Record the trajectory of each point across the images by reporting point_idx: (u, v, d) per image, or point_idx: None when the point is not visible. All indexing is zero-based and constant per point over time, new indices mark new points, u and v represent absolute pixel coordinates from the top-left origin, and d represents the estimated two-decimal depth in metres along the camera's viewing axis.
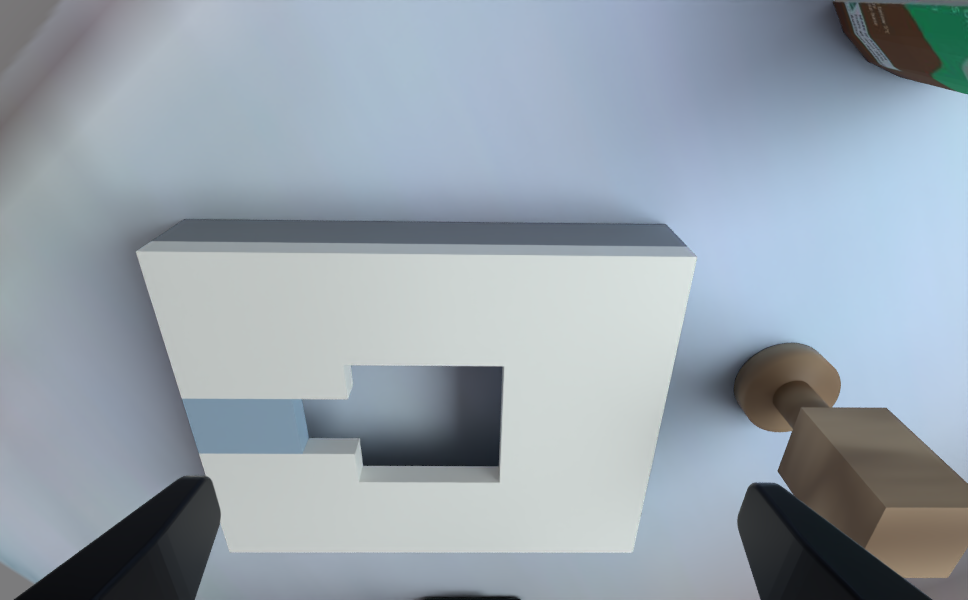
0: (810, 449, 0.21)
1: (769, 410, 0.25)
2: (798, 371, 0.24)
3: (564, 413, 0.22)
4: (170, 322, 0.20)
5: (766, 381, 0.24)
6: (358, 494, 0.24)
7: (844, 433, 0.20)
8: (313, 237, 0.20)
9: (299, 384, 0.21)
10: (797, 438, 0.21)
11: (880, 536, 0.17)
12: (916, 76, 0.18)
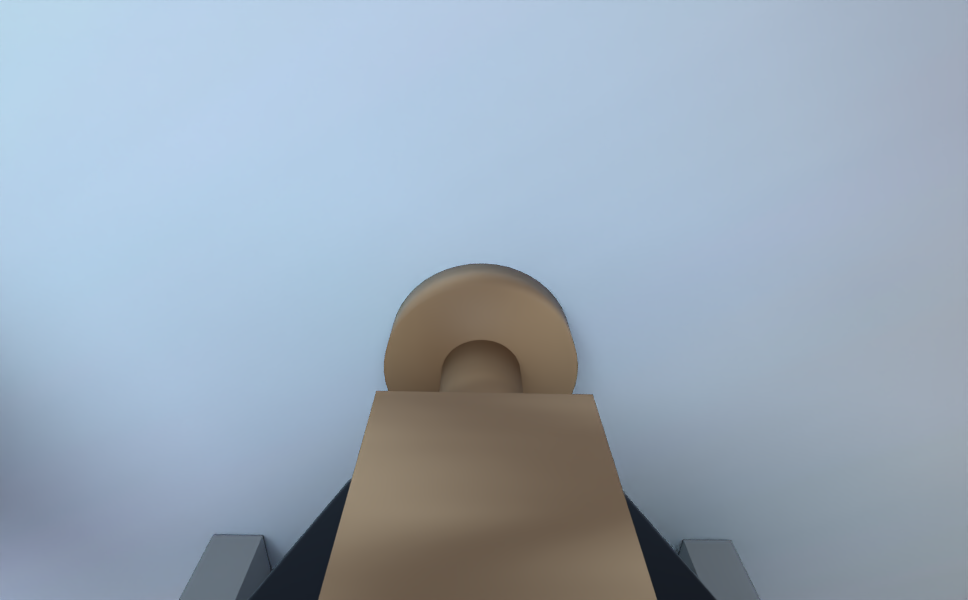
0: None
1: None
2: (418, 376, 0.12)
3: None
4: None
5: None
6: None
7: None
8: None
9: None
10: None
11: None
12: None
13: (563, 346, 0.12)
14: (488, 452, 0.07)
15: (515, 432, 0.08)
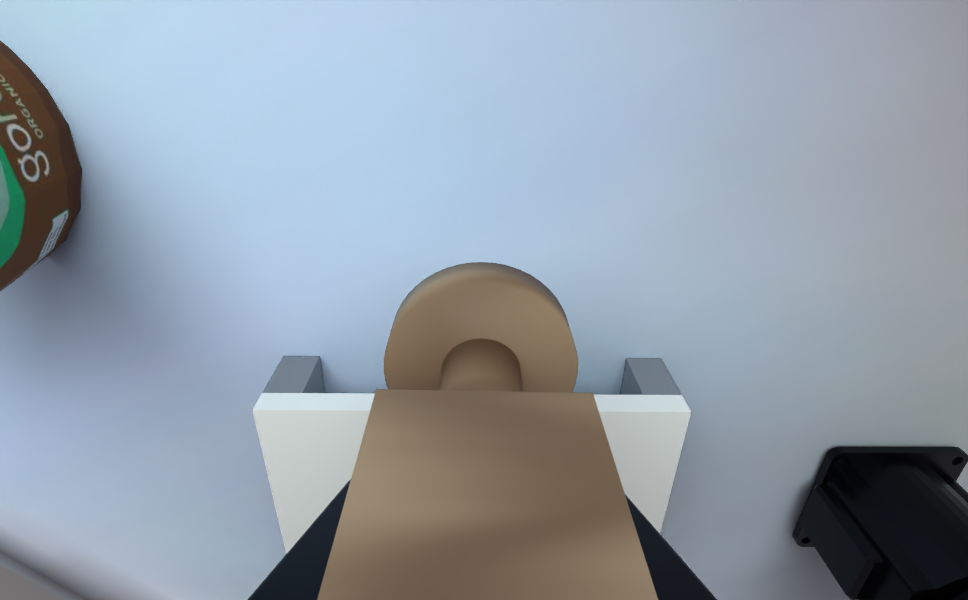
0: None
1: None
2: (419, 375, 0.12)
3: None
4: None
5: None
6: None
7: None
8: None
9: None
10: None
11: None
12: (45, 215, 0.17)
13: (563, 346, 0.12)
14: (489, 451, 0.07)
15: (515, 430, 0.08)
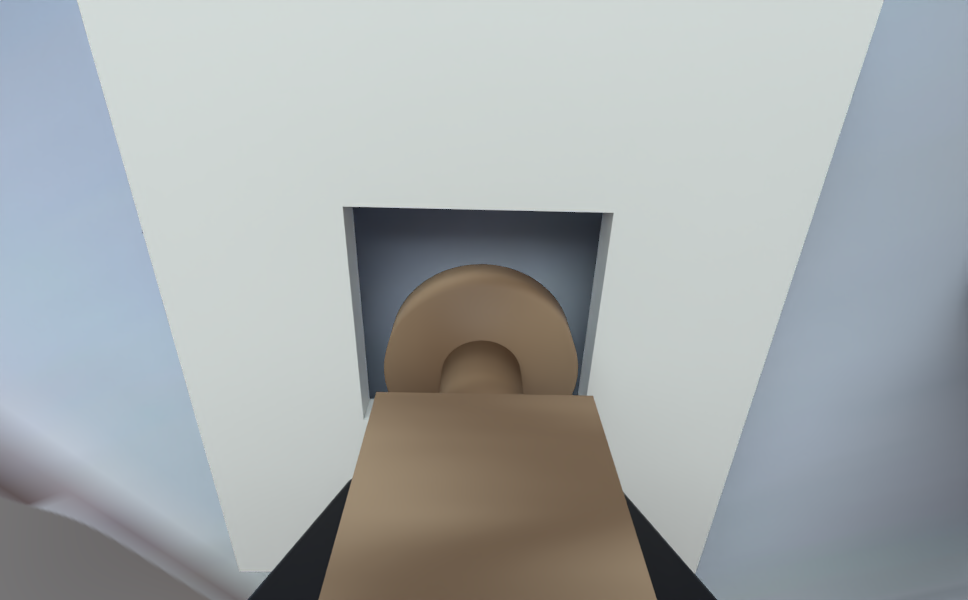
0: None
1: None
2: (419, 377, 0.12)
3: (442, 89, 0.11)
4: None
5: None
6: (609, 425, 0.15)
7: None
8: None
9: None
10: None
11: None
12: None
13: (563, 347, 0.12)
14: (489, 454, 0.07)
15: (515, 433, 0.08)
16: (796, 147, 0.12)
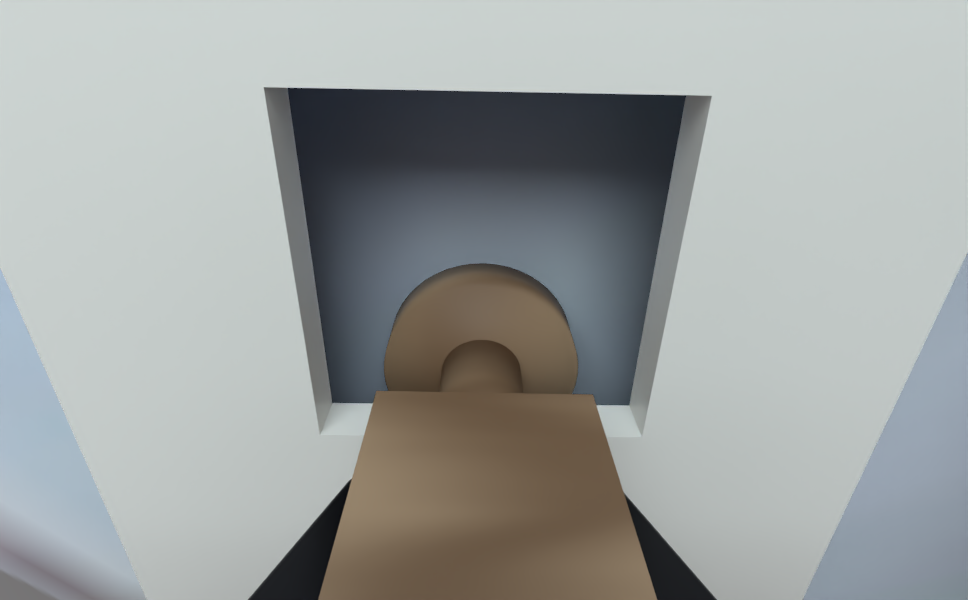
0: None
1: None
2: (419, 376, 0.12)
3: None
4: None
5: None
6: (681, 440, 0.11)
7: None
8: None
9: None
10: None
11: None
12: None
13: (564, 347, 0.12)
14: (489, 452, 0.07)
15: (515, 432, 0.08)
16: None
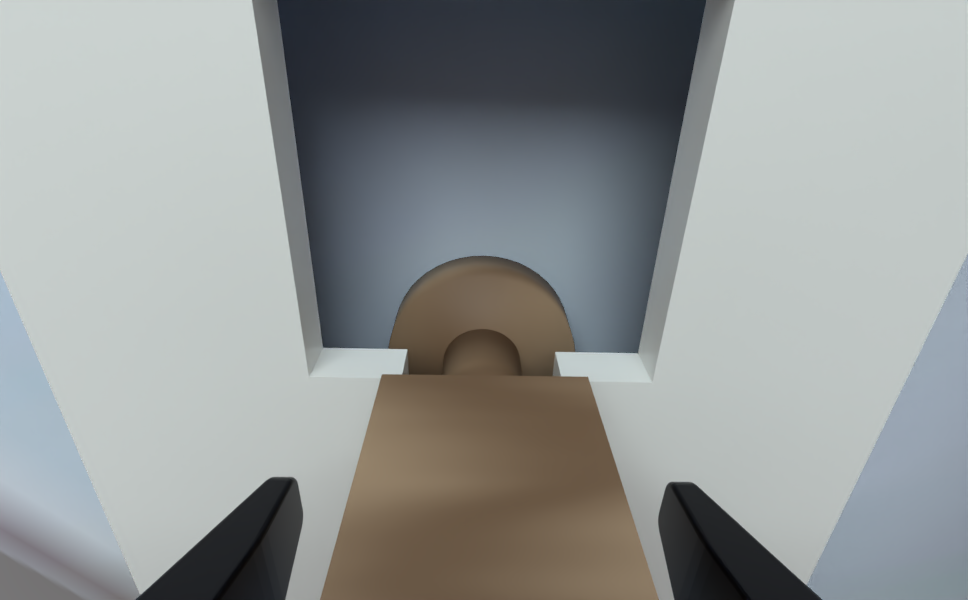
0: None
1: None
2: (421, 365, 0.12)
3: None
4: None
5: None
6: (694, 386, 0.10)
7: None
8: None
9: None
10: None
11: None
12: None
13: (561, 335, 0.12)
14: (488, 429, 0.08)
15: (514, 411, 0.08)
16: None
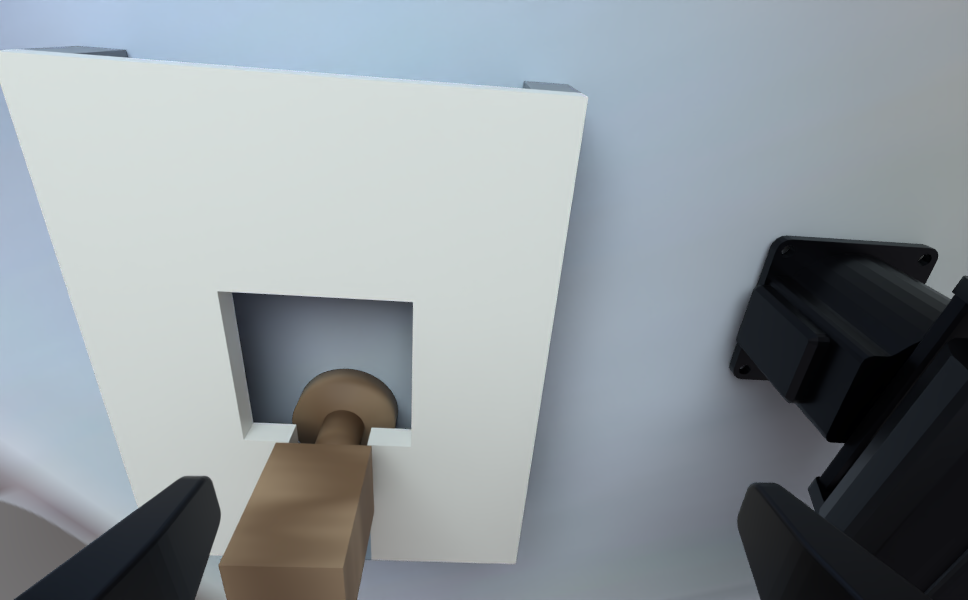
0: None
1: (364, 441, 0.23)
2: (311, 427, 0.23)
3: (282, 219, 0.16)
4: (218, 548, 0.23)
5: None
6: (431, 449, 0.21)
7: None
8: None
9: None
10: None
11: None
12: None
13: (385, 414, 0.23)
14: (315, 471, 0.18)
15: (329, 462, 0.19)
16: (534, 264, 0.17)
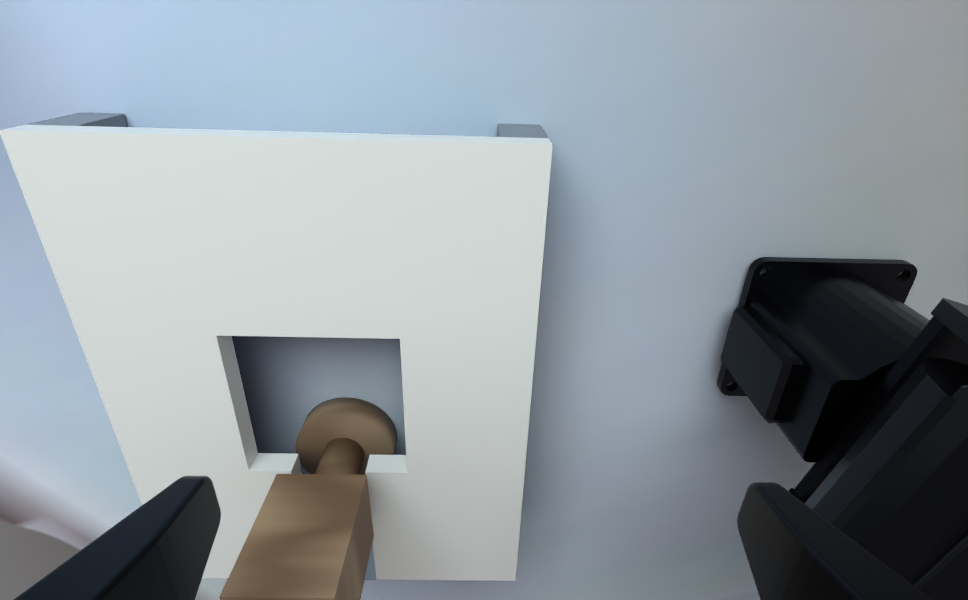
0: None
1: (365, 466, 0.24)
2: (313, 454, 0.24)
3: (272, 268, 0.17)
4: None
5: None
6: (427, 474, 0.21)
7: None
8: None
9: None
10: None
11: None
12: None
13: (383, 440, 0.24)
14: (312, 501, 0.19)
15: (326, 493, 0.20)
16: (513, 300, 0.18)
